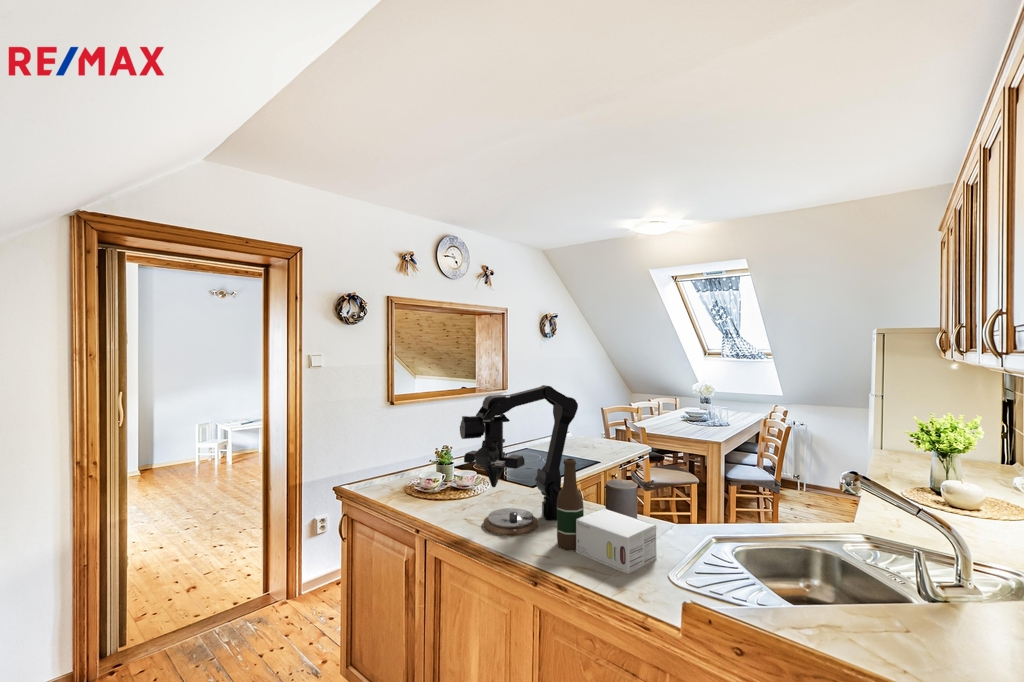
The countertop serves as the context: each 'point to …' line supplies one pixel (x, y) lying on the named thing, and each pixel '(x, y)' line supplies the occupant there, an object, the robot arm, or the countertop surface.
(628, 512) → the pillar candle
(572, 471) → the beer bottle
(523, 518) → the dial
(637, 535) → the supplement box
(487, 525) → the stand
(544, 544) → the countertop surface
